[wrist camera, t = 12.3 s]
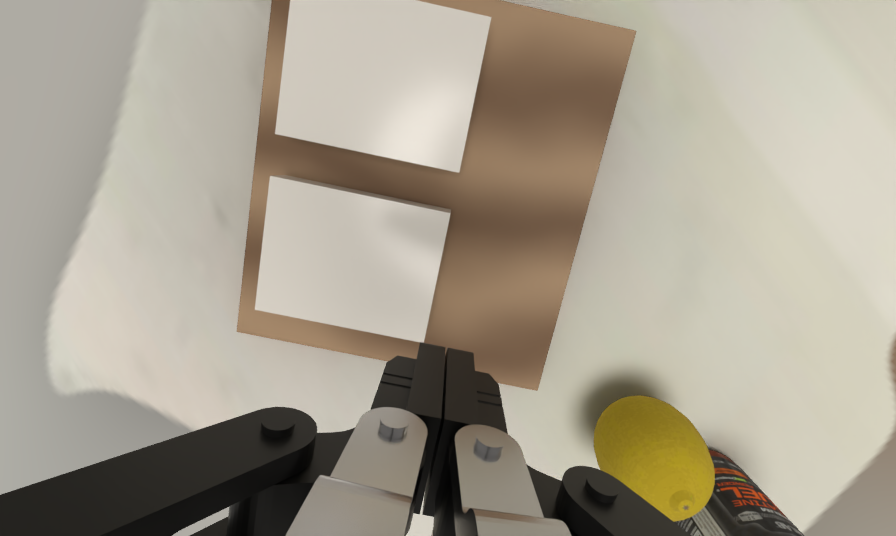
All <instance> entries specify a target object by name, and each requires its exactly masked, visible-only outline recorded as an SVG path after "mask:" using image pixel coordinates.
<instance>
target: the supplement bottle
mask: <svg viewBox="0 0 896 536" xmlns="http://www.w3.org/2000/svg"><path fill="white" fill-rule="evenodd" d="M709 453H710V456H711V459H712V462H713V464H714V470H715V485H714V488H713V492H712V495H711V497H710V499H709V501H708V502H707V504H706V505H705V506H704V507H703V509H702V510H701V511H700V512H698V513H697V514H695V515H694V516H692V517H690V518H687V519H685V520H681V521H675V523H676V524H677V525H678V526H680V527H681V528H682V529H684V530H685V531H686V532H688V533H689V534H690V535H692V536H804V535H803V534H802V533H801V532H800V531H799V530H798V528H797V527H796V526H795V525H794V524H793V523H792V522H791V521H790V520H789V519H788V518H787V517H786V516H785V515H784V514H783V513H782V512H781V511H780V510H779V509H778V508H777V506H775V504H774V503H773V502H772V501H771V500H770V499H769V498H768V497H767V496H766V495H765V494H764V493H763V492H762V490H761V489H760V488H759V487H758V486H757V485H756V484H755V483H754V482H753V481H752V480H751V479H750V478H749V476H748V475H747V474H746V473H745V472H744V471H743V470H742V469H741V468H740V467H739V466H737V465H736V464H735V463H734V462H733V461H732V460H731V459H729V458H728V457H726V456H725V455H723V454H721V453H718V452H716V451H713V450H709Z"/></svg>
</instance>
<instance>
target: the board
mask: <svg viewBox="0 0 896 536" xmlns="http://www.w3.org/2000/svg"><path fill="white" fill-rule="evenodd" d="M417 1H422V2H426V3H431V4H435V5H440V6H444V7H449V8H453V9H458V10H462V11H466V12H471V13H475V14H480V15H484V16H489V17H491V22H490V27H489V32H488V36H487V41H486V46H485V51H484V56H483V60H482V65H481V70H480V75H479V80H478V85H477V89H476V94H475V99H474V104H473V109H472V114H471V118H470V123H469V128H468V133H467V138H466V143H465V147H464V152H463V157H462V162H461V167H460V171H459V173H458V172H453V171H448V170H443V169H439V168H434V167H429V166H424V165H420V164H415V163H410V162H406V161H401V160H396V159H391V158H387V157H382V156H377V155H372V154H368V153H363V152H358V151H353V150H349V149H344V148H339V147H335V146H330V145H325V144H320V143H316V142H311V141H306V140H301V139H297V138H292V137H287V136H282V135H278V134H275V129H276V120H277V112H278V103H279V94H280V85H281V77H282V68H283V59H284V50H285V42H286V33H287V24H288V15H289V7H290V0H272V4H271V13H270V23H269V32H268V42H267V51H266V61H265V70H264V80H263V89H262V98H261V108H260V117H259V127H258V136H257V146H256V155H255V165H254V174H253V184H252V193H251V202H250V212H249V221H248V231H247V240H246V250H245V259H244V269H243V278H242V287H241V297H240V306H239V316H238V325H237V332H241V333H246V334H251V335H256V336H261V337H266V338H271V339H277V340H282V341H287V342H292V343H297V344H302V345H307V346H312V347H317V348H323V349H328V350H333V351H338V352H343V353H348V354H353V355H358V356H363V357H368V358H374V359H379V360H384V361H390V360H391V359H393V358H394V357H396V356H397V355H398V356H403V357H408V358H413V359H417V354H418V349H419V344H420V342H415V341H410V340H405V339H400V338H395V337H390V336H385V335H380V334H375V333H370V332H365V331H360V330H355V329H350V328H345V327H340V326H335V325H329V324H324V323H319V322H314V321H309V320H304V319H299V318H294V317H289V316H284V315H279V314H274V313H269V312H264V311H259V310H255V303H256V294H257V285H258V276H259V268H260V259H261V250H262V241H263V232H264V224H265V215H266V206H267V197H268V189H269V180H270V176H274V175H288V176H293V177H297V178H302V179H307V180H312V181H317V182H321V183H326V184H331V185H336V186H341V187H345V188H350V189H355V190H360V191H365V192H369V193H374V194H379V195H384V196H389V197H393V198H398V199H403V200H408V201H413V202H417V203H422V204H427V205H432V206H437V207H441V208H446V209H451V214H450V219H449V224H448V228H447V233H446V238H445V243H444V248H443V253H442V257H441V262H440V267H439V272H438V277H437V281H436V286H435V291H434V296H433V301H432V306H431V310H430V315H429V320H428V325H427V330H426V335H425V339H424V343H428V344H433V345H438V346H443V347H446V349H445V354H446V350H447V348H453V349H458V350H463V351H468V352H473V354H474V365H475V371H479V372H484V373H489V374H490V375H491V376H492V377H493V379H494V380H495V381H496V382H497V383H501V384H506V385H511V386H516V387H522V388H527V389H532V390H538V386H539V383H540V379H541V376H542V372H543V368H544V365H545V361H546V357H547V354H548V350H549V346H550V343H551V339H552V336H553V332H554V328H555V325H556V321H557V317H558V314H559V310H560V307H561V303H562V299H563V296H564V292H565V288H566V285H567V281H568V278H569V274H570V270H571V267H572V263H573V259H574V256H575V252H576V248H577V245H578V241H579V238H580V234H581V230H582V227H583V223H584V219H585V216H586V212H587V209H588V205H589V201H590V198H591V194H592V190H593V187H594V183H595V179H596V176H597V172H598V169H599V165H600V161H601V158H602V154H603V150H604V147H605V143H606V140H607V136H608V132H609V129H610V125H611V121H612V118H613V114H614V110H615V107H616V103H617V100H618V96H619V92H620V89H621V85H622V81H623V78H624V74H625V71H626V67H627V63H628V60H629V56H630V52H631V49H632V45H633V41H634V38H635V34H636V31H634V30H630V29H625V28H621V27H616V26H612V25H607V24H603V23H599V22H594V21H590V20H585V19H581V18H576V17H572V16H567V15H563V14H559V13H554V12H550V11H545V10H541V9H536V8H532V7H527V6H523V5H519V4H514V3H510V2H505V1H501V0H417Z"/></svg>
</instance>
